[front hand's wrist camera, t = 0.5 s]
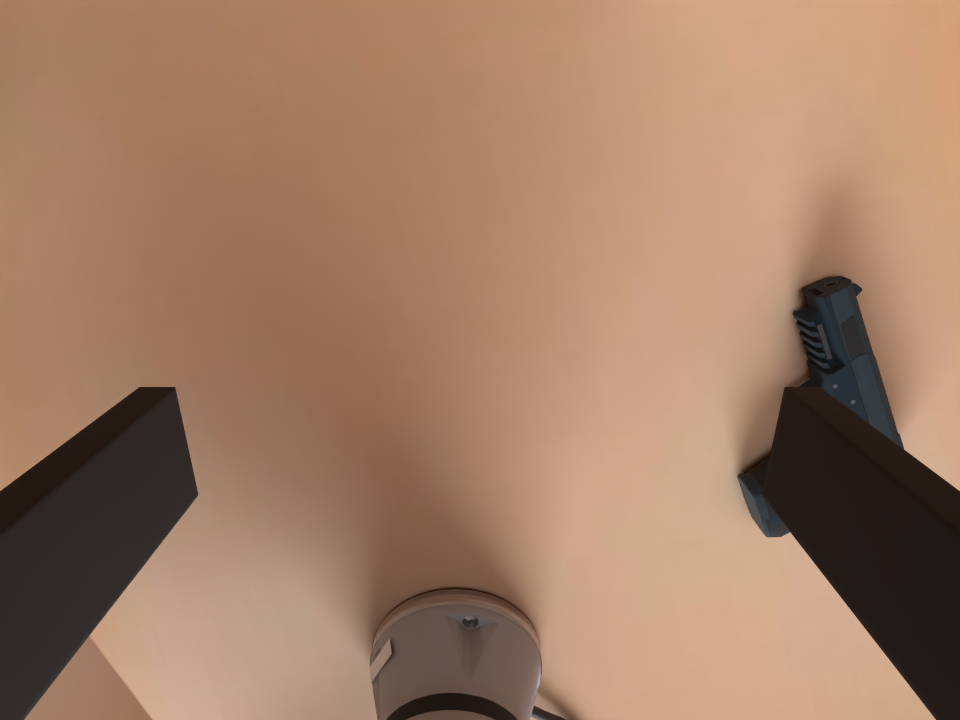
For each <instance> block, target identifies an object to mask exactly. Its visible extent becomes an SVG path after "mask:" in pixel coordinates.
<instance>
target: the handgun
mask: <svg viewBox="0 0 960 720" xmlns="http://www.w3.org/2000/svg"><path fill="white" fill-rule="evenodd" d="M861 291H862V288H861V287H859V286H858V285H857V284H854V283H852V282H851V280H850V279H847V278H845V277H842V276H835V277H828V278H825V279H822V280H820V281H817V282H815V283H813V284H811V285H809V286H807V287H804V288H803V292H804V295H805V298H806V301H807V304H808V307H806V308H805V309H804V310H802V311H794V312H793V316H794V318H795V319H797V320H799V321H797V323H796V325H797V328H798V329H800V330H802V331H801V332H800V336H801V338H802V339H803V340H805V341H804V342H803V345H804V348H806V349H807V353H806V354H807V357H808V358H809V359H810V361H808V365H809V369H810V372H811V376H812V378H811V379H810V380H808V381H807V382H805V383H804V384H802V385H801V386H799V387H821V388H822V389H824V390H825V391H826V392H828V393H829V394H830V395H832V396H833V397H834V398H836V399H837V400H838V401H840V402H841V403H842V404H844V405H845V406H846V407H848V408H849V409H850V410H852V411H853V412H854V413H856V414H857V415H858V416H860V417H861V418H862V419H864V420H865V421H866V422H868V423H869V424H870V425H872V426H873V427H874V428H876V429H877V430H878V431H880V432H881V433H882V434H884V435H885V436H886V437H888V438H889V439H890V440H892V441H893V442H894V443H896V444H897V445H898V446H900V447H901V448H902V449H904V447H903V444H902V441H901V437H900V434H898V432H897V428H896V425H895V422H894V418H893V415H892V412H891V408H890V405H889V402H888V398H887V395H886V392H885V388H884V385H883V382H882V378H881V375H880V372H879V368H878V365H877V362H876V358H875V356H874V355H873V352H872V348H871V345H870V342H869V338H868V335H867V332H866V328H865V325H864V322H863V318H862V315H861V312H860V308H859V305H858V302H857V298H856V296H857V295H858V294H859V293H860V292H861ZM769 459H770V456H769V457H768V458H766V459H765V460H763V461H762V462H760V463H759V464H758V465H756V466H755V467H753V468H752V469H751V470H750V471H748V472H747V473H745V474H744V475H742V474H739V475H738V480H739V483H740V486H741V489H742V492H743V495H744V498H745V501H746V504H747V506H748V509H749V511H750V514H751V516H752V518H753V519H754V521H755V522H756V524H757V525H758V527H759V528H760V529H761V531H762V532H763V533H764V535H765V536H766V537H782V536H784V535H785V534H787V533H789V532H790V531H789V530H788V528H787V527H786V526H785V524H784V523H783V522H782V521H781V519H780V518H779V517H778V515H777V514H776V513H775V512H774V510H773V509H772V508H771V506H770V505H769V504H768V503H767V501H766V500H765V499H764V497H763V496H762V491H763V486H764V482H765V477H766V473H767V468H768V463H769Z"/></svg>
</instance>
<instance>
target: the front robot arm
mask: <svg viewBox="0 0 960 720" xmlns="http://www.w3.org/2000/svg"><path fill="white" fill-rule="evenodd" d="M197 496H198V491H197V486H196V482H195V477H194V473H193V468H192V463H191V459H190V454H189V449H188V445H187V440H186V435H185V431H184V426H183V421H182V417H181V412H180V407H179V403H178V398H177V393H176V389H175V387H139V388H138V389H136V390H135V391H134V392H132V393H131V394H130V395H128V396H127V397H126V398H124V399H123V400H122V401H120V402H119V403H118V404H116V405H115V406H114V407H112V408H111V409H110V410H108V411H107V412H106V413H104V414H103V415H102V416H100V417H99V418H98V419H96V420H95V421H94V422H92V423H91V424H90V425H88V426H87V427H86V428H84V429H83V430H82V431H80V432H79V433H78V434H76V435H75V436H74V437H72V438H71V439H70V440H68V441H67V442H66V443H64V444H63V445H62V446H60V447H59V448H58V449H56V450H55V451H54V452H52V453H51V454H50V455H48V456H47V457H45V458H44V459H43V460H41V461H40V462H39V463H37V464H36V465H35V466H33V467H32V468H31V469H29V470H28V471H27V472H25V473H24V474H23V475H21V476H20V477H19V478H17V479H16V480H15V481H13V482H12V483H11V484H9V485H8V486H7V487H5V488H4V489H3V490H1V491H0V720H24V719H25V717H26V716H27V715H28V714H29V712H30V711H31V710H32V708H33V707H34V706H35V705H36V703H37V702H38V701H39V699H40V698H41V697H42V696H43V694H44V693H45V692H46V691H47V689H48V688H49V687H50V685H51V684H52V683H53V681H54V680H55V679H56V678H57V676H58V675H59V674H60V673H61V671H62V670H63V669H64V667H65V666H66V665H67V663H68V662H69V661H70V660H71V658H72V657H73V656H74V654H75V653H76V652H77V651H78V649H79V648H80V647H81V645H82V644H83V643H84V642H85V640H86V639H87V638H88V636H89V635H90V634H91V633H92V631H93V630H94V629H95V627H96V626H97V625H98V624H99V622H100V621H101V620H102V618H103V617H104V616H105V615H106V613H107V612H108V611H109V609H110V608H111V607H112V606H113V604H114V603H115V602H116V600H117V599H118V598H119V597H120V595H121V594H122V593H123V591H124V590H125V589H126V588H127V586H128V585H129V584H130V582H131V581H132V580H133V579H134V577H135V576H136V575H137V573H138V572H139V571H140V570H141V568H142V567H143V566H144V564H145V563H146V562H147V561H148V559H149V558H150V557H151V555H152V554H153V553H154V551H155V550H156V549H157V548H158V546H159V545H160V544H161V542H162V541H163V540H164V539H165V537H166V536H167V535H168V533H169V532H170V531H171V530H172V528H173V527H174V526H175V524H176V523H177V522H178V521H179V519H180V518H181V517H182V515H183V514H184V513H185V512H186V510H187V509H188V508H189V506H190V505H191V504H192V503H193V501H194V500H195V499H196V497H197ZM762 496H763V497H764V499H765V500H766V501H767V503H768V504H769V505H770V506H771V508H772V509H773V510H774V512H775V513H776V514H777V515H778V517H779V518H780V519H781V521H782V522H783V523H784V524H785V526H786V527H787V528H788V530H789V531H790V532H791V533H792V535H793V536H794V537H795V539H796V540H797V541H798V542H799V544H800V545H801V546H802V548H803V549H804V550H805V551H806V553H807V554H808V555H809V557H810V558H811V559H812V561H813V562H814V563H815V564H816V566H817V567H818V568H819V570H820V571H821V572H822V573H823V575H824V576H825V577H826V579H827V580H828V581H829V582H830V584H831V585H832V586H833V588H834V589H835V590H836V591H837V593H838V594H839V595H840V597H841V598H842V599H843V600H844V602H845V603H846V604H847V606H848V607H849V608H850V609H851V611H852V612H853V613H854V615H855V616H856V617H857V618H858V620H859V621H860V622H861V624H862V625H863V626H864V627H865V629H866V630H867V631H868V633H869V634H870V635H871V636H872V638H873V639H874V640H875V642H876V643H877V644H878V645H879V647H880V648H881V649H882V651H883V652H884V653H885V654H886V656H887V657H888V658H889V660H890V661H891V662H892V663H893V665H894V666H895V667H896V669H897V670H898V671H899V673H900V674H901V675H902V676H903V678H904V679H905V680H906V682H907V683H908V684H909V685H910V687H911V688H912V689H913V691H914V692H915V693H916V694H917V696H918V697H919V698H920V700H921V701H922V702H923V703H924V705H925V706H926V707H927V709H928V710H929V711H930V712H931V714H932V715H933V716H934V718H935V719H936V720H960V491H959V490H957V489H956V488H955V487H953V486H952V485H951V484H949V483H948V482H947V481H945V480H944V479H943V478H941V477H940V476H939V475H937V474H936V473H935V472H933V471H932V470H931V469H929V468H928V467H927V466H925V465H924V464H923V463H921V462H920V461H919V460H917V459H916V458H915V457H913V456H912V455H910V454H909V453H908V452H906V451H905V450H904V449H902V448H901V447H900V446H898V445H897V444H896V443H894V442H893V441H892V440H890V439H889V438H888V437H886V436H885V435H884V434H882V433H881V432H880V431H878V430H877V429H876V428H874V427H873V426H872V425H870V424H869V423H868V422H866V421H865V420H864V419H862V418H861V417H860V416H858V415H857V414H856V413H854V412H853V411H852V410H850V409H849V408H848V407H846V406H845V405H844V404H842V403H841V402H840V401H838V400H837V399H836V398H834V397H833V396H832V395H830V394H829V393H828V392H826V391H825V390H824V389H822V388H821V387H785V389H784V393H783V398H782V403H781V407H780V412H779V417H778V421H777V426H776V431H775V435H774V440H773V445H772V449H771V454H770V459H769V463H768V468H767V473H766V477H765V482H764V486H763V491H762Z"/></svg>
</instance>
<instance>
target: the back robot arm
mask: <svg viewBox="0 0 960 720" xmlns="http://www.w3.org/2000/svg"><path fill="white" fill-rule="evenodd" d="M370 673H371V682H372V685H373V693H374V699H375V705H376V712H377V718H378V720H530V719H531V717H533V718H536V719H538V720H566V719H564V718H562V717H559V716H557V715H554V714H551V713H549V712H546V711H544V710H542V709H540V708H538V707H536V706H534V701H535V696H536V692H537V689H538V687H539V683H540V679H541V673H542V662H541V653H540V645H539V640H538V636H537V634H536V632H535V630H534V628H533V626H532V624H531V623H530V622H529V620H528V619H527V618H526V617H525V616H524V615H523V614H522V613H521V612H520V611H519V610H518V609H516V608H515V607H514V606H512V605H511V604H509V603H507V602H506V601H504V600H502V599H500V598H498V597H495V596H492V595H490V594H486V593H483V592H478V591H473V590H465V589H446V590H438V591H433V592H428V593H425V594H421V595H419V596H416V597H414V598H411V599H409V600H407V601H406V602H404V603H402V604H401V605H399V606H398V607H396V608H395V609H394V610H393V611H392V612H391V613H389V615H388V616H387V617H386V618H385V619H384V620H383V622H382V623H381V625H380V627H379V628H378V631H377V633H376V636H375V639H374V644H373V649H372V653H371V659H370Z"/></svg>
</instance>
